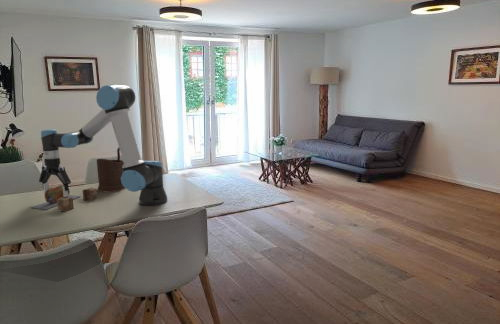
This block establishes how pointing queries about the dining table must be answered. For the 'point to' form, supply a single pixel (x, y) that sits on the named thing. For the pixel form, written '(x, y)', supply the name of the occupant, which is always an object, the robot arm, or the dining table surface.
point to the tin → (54, 194)
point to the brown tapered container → (110, 174)
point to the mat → (51, 204)
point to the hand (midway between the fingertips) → (56, 195)
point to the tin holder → (67, 203)
